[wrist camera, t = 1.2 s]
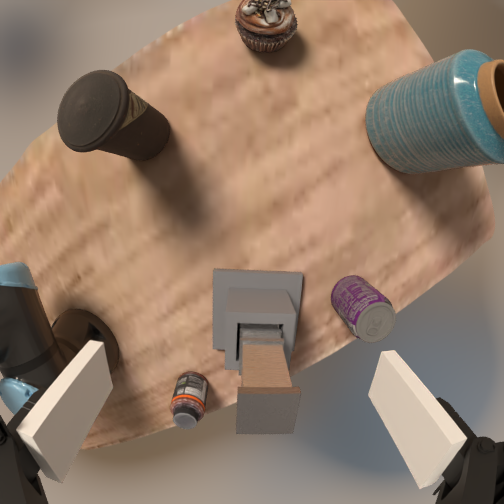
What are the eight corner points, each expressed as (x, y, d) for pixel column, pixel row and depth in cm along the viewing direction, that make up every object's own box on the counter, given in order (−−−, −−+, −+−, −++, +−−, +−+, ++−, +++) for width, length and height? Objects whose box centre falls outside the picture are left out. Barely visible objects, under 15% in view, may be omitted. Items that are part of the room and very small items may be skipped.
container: (182, 127, 42) (141, 87, 22) (148, 173, 43) (86, 166, 24) (143, 100, 40) (86, 54, 21) (111, 145, 42) (38, 126, 22)
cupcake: (228, 50, 39) (225, 20, 29) (244, 9, 37) (245, -24, 27) (285, 63, 40) (295, 35, 30) (298, 21, 38) (309, -9, 28)
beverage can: (358, 316, 50) (385, 348, 38) (323, 307, 49) (345, 341, 37) (373, 279, 48) (406, 305, 36) (338, 269, 48) (366, 294, 36)
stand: (213, 344, 50) (206, 385, 38) (214, 268, 47) (205, 294, 35) (292, 346, 50) (304, 387, 39) (301, 272, 47) (319, 298, 36)
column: (238, 330, 47) (236, 433, 25) (239, 298, 46) (237, 393, 23) (272, 331, 47) (292, 433, 25) (274, 300, 46) (301, 393, 24)
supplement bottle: (198, 398, 52) (190, 438, 41) (172, 383, 52) (160, 422, 40) (214, 380, 52) (209, 421, 41) (188, 364, 51) (177, 403, 40)
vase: (435, 182, 45) (550, 192, 19) (358, 163, 44) (471, 148, 18) (438, 101, 41) (541, 70, 15) (364, 74, 40) (454, 3, 14)
